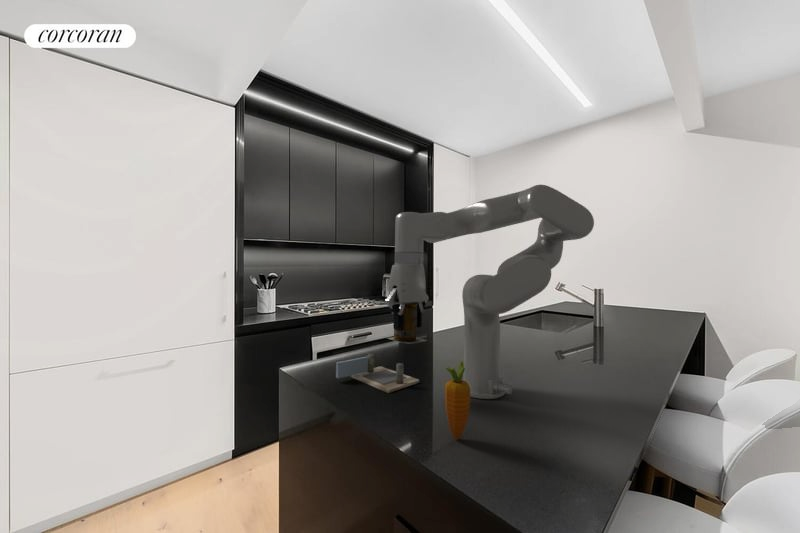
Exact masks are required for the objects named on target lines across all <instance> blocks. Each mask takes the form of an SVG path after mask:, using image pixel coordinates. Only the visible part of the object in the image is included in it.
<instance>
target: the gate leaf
mask: <svg viewBox="0 0 800 533" xmlns="http://www.w3.org/2000/svg"><path fill="white" fill-rule="evenodd" d="M335 364H336V366H335V378H336V379H343V378H347V377H351V375H355V374H360V373H364V372H368V357H367V356H362V357H357V358H352V359H345V360H343V361H337V362H335Z"/></svg>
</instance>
